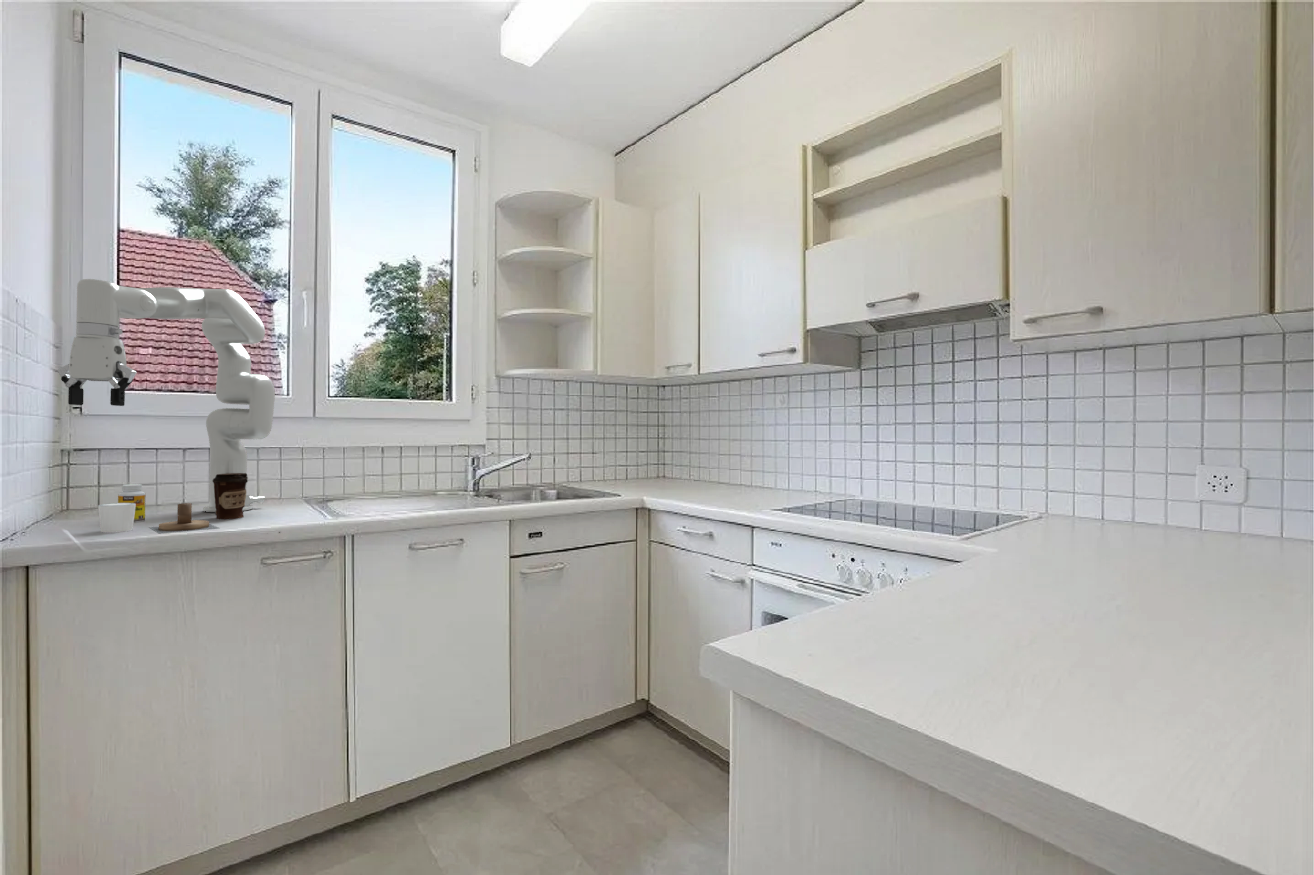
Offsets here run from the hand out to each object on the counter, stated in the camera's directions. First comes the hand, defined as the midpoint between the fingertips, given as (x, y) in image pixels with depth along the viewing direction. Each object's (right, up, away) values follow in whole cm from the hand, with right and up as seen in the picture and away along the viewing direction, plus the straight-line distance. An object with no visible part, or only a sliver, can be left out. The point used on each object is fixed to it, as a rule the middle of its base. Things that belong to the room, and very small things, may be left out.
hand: (96, 405), depth 146 cm
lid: (+15, -30, +8) cm, 35 cm away
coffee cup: (+14, -31, +26) cm, 43 cm away
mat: (+15, -31, +8) cm, 35 cm away
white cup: (+3, -31, +2) cm, 31 cm away
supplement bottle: (-6, -31, +17) cm, 36 cm away
